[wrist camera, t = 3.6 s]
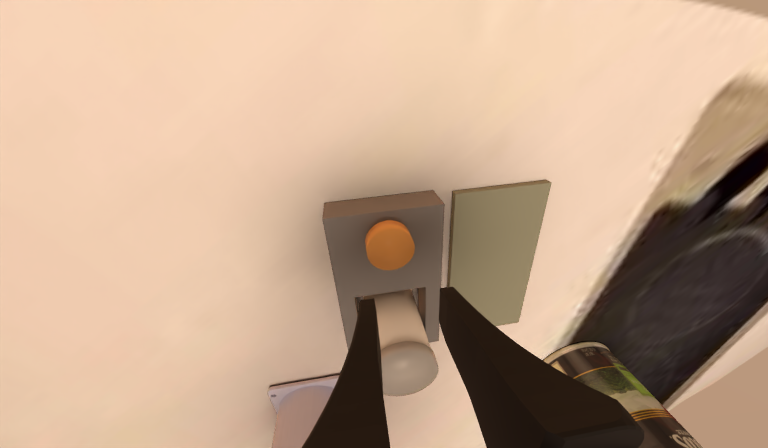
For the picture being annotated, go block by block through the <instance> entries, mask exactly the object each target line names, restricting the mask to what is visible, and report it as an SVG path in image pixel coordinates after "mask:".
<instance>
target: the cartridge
mask: <svg viewBox="0 0 768 448" xmlns="http://www.w3.org/2000/svg"><path fill="white" fill-rule="evenodd" d="M373 298H374V300H375V305H376V312H377V321H378V330H379V339H380V348H381V363H382V382H383V394H384V395H389V396H404V395H409V394H413V393H416V392H418V391H420V390H422V389H424V388H426V387H427V386H428V385H429V384H431V383H432V382H433V381H434V379H435V378H436V376H437V374H438V364H437V361H436V358H435V355H434V352H433V351H432V349H431V348H430V345H429V342H428V338H427V335H426V332H425V329H424V326H423V323H422V320H421V317H420V314H419V311H418V308H417V305H416V302H415V299H414V296H413V293H412V290H411V289H408V290H402V291H395V292H388V293H381V294H375V295H368V296H363V300H366V299H373Z"/></svg>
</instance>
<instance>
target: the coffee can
mask: <svg viewBox="0 0 768 448" xmlns="http://www.w3.org/2000/svg"><path fill="white" fill-rule="evenodd" d="M543 361H544V362H546V363H548V364H549V365H551V366H552V367H554V368H556V369H557V370H559V371H561V372H563V373H564V374H566V375H568V376H570V377H572V378H574V379H576V380H577V381H579V382H581V383H583V384H585V385H587V386H589V387H591V388H593V389H595V390H598V391H600V392H602V393H604V394H606V395H608V396H610V397H612V398H614V399H616V400H618V401H619V402H620V403H621V404H622V406H623V407H624V408H625V409H626V410H627V411H628V412H629V413H630V414H631V416H632V417H633V418H634V419H635V421H636V422H637V423H638V424H639V425H640V427H641V428H642V429H643V430H644V440H643V442H642V444H641V445H640V446H639V448H702V446H701V445H700V444H699V443H698V442H697V441H696V440H695V439H694V438H693V437H692V436H691V435H690V434H689V433H688V432H687V431H686V430H685V429H684V428H683V427H682V425H681V424H679V423H678V422H677V421H676V419H675V418H674V417H673V416H672V415H671V414H670V413H669V412H668V411H667V410H666V409H665V408H664V407H663V406H662V405H661V404H660V403H659V402H658V401H657V400H656V399H655V398H654V397H653V396H652V395H651V394H650V392H649V391H648V390H647V389H646V388H645V387H644V386H643V385H642V384H641V383H640V382H639V381H638V380H637V379H636V378H635V377H634V376H633V375H632V374H631V373H630V372H629V371H628V370H627V369H626V368H625V367H624V366H623V364H622V363H621V362H620V361H619V360H618V359H617V358H616V357H615V356H614V355H613V354H612V353H611V352H610V350H609V349H608V348H607V347H606V346H605V345H603V344H601V343H598V342H580V343H576V344H572V345H568V346H566V347H564V348H561V349H559V350H557V351H555V352H554V353H552V354H551V355H549V356H548V357H546V358H545V359H544V360H543Z"/></svg>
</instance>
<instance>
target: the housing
mask: <svg viewBox="0 0 768 448" xmlns="http://www.w3.org/2000/svg"><path fill="white" fill-rule="evenodd" d="M386 220H393V221H398V222H400V223H402V224H404V225H405V226H406V227H407V229H408V230H409V232H410V235H411V237H412V239H413V241H414V245H415V251H414V254H413V257H412V258H411V260H410V261H409V262H408V263H407V264H406V265H404V266H403V267H401V268H398V269H395V270H382V269H379V268H377V267H375V266H373V265H372V264H371V263H370V261H369V259H368V257H367V251H366V245H365V239H366V235H367V233H368V231H369V230H370V229H371V228H372V227H373V226H374V225H376V224H377V223H379V222H382V221H386ZM443 223H444V203H443V202H442V201H441V199H440V198H439V197H438V196H437V194H436V193H435V192H434V191H433V190H431V191H422V192H414V193H405V194H397V195H388V196H380V197H371V198H363V199H354V200H345V201H337V202H328V203H324V211H323V224H324V229H325V234H326V239H327V244H328V249H329V254H330V260H331V265H332V270H333V275H334V280H335V285H336V290H337V295H338V300H339V306H340V311H341V316H342V321H343V326H344V331H345V336H346V341H347V346H348V351H349V348H350V345H351V342H352V338H353V334H354V330H355V326H356V322H357V317H358V307H357V300H356V297H361V296H368V295H375V294H381V293H388V292H395V291H402V290H408V289H415V288H418V311H419V314H420V317H421V320H422V323H423V326H424V329H425V332H426V335H427V338H428V342H434V341H439V299H440V288H441V271H442V247H443Z"/></svg>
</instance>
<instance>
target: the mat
mask: <svg viewBox="0 0 768 448" xmlns="http://www.w3.org/2000/svg"><path fill="white" fill-rule="evenodd" d="M550 187H551V182H549V181H547V180H542V181H534V182H525V183H517V184H508V185H500V186H491V187H483V188H474V189H466V190H457V191H453V194H452V212H451V230H450V247H449V265H448V283H447V287H454V288H455V289H456V290H457V291H458V292H459V293H460V294H461V295H462V296H463V297H464V298H465V299H466V300H467V301H468V302H469V303H470V304H471V305H472V306H473V307H474V308H475V309H476V310H477V311H479V312H480V313H481V314H482V315H483V316H484V317H485V318H486V319H487V320H489V321H490V322H491V323H492V324H493V325H494V326H499V325H505V324H511V323H517V322H519V318H520V314H521V309H522V305H523V301H524V297H525V293H526V288H527V284H528V280H529V276H530V271H531V267H532V263H533V259H534V254H535V250H536V246H537V242H538V238H539V233H540V229H541V225H542V221H543V216H544V212H545V208H546V204H547V200H548V195H549V191H550Z"/></svg>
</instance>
